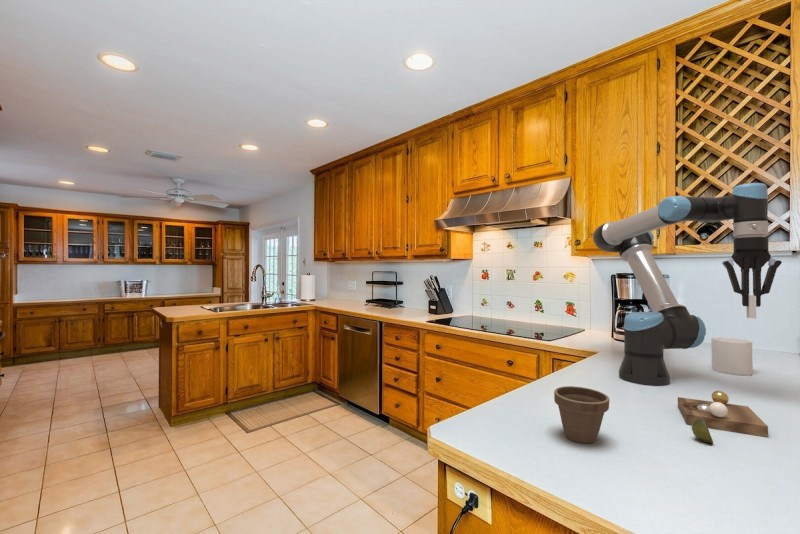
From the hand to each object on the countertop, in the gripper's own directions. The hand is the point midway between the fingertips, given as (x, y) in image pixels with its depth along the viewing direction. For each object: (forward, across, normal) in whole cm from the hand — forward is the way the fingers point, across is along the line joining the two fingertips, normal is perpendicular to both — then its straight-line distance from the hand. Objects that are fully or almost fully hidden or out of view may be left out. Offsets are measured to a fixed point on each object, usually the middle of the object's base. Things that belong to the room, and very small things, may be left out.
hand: (751, 317), depth 111 cm
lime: (+25, -18, -40) cm, 50 cm away
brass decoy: (+20, -10, -17) cm, 28 cm away
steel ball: (+23, -15, -22) cm, 35 cm away
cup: (+25, +4, +42) cm, 48 cm away
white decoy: (+20, -13, -28) cm, 37 cm away
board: (+24, -12, -22) cm, 35 cm away
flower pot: (+25, -42, -51) cm, 70 cm away
